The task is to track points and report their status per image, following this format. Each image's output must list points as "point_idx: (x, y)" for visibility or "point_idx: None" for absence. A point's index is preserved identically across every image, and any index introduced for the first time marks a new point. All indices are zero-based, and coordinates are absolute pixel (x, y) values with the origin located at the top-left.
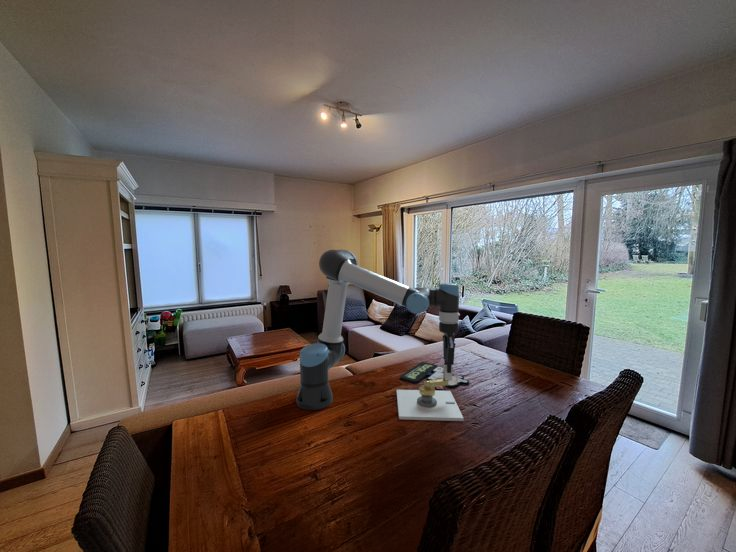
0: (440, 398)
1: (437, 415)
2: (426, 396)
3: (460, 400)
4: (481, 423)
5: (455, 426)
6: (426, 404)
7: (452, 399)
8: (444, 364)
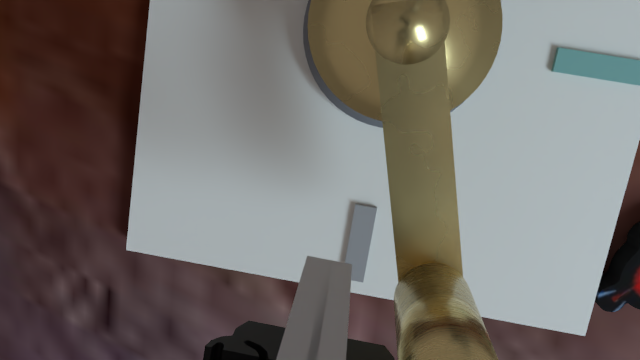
0: None
1: (172, 58)
2: None
3: None
4: (103, 349)
5: (73, 156)
6: None
7: None
8: (216, 340)
